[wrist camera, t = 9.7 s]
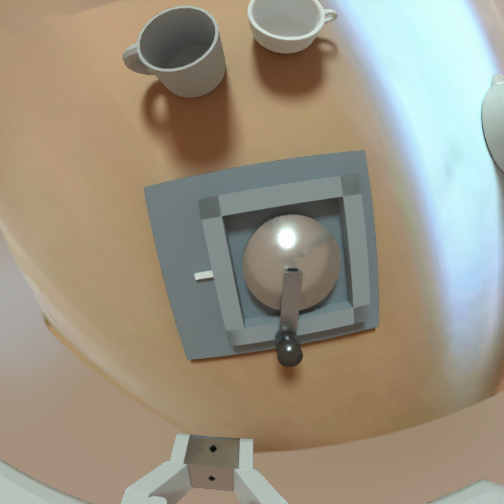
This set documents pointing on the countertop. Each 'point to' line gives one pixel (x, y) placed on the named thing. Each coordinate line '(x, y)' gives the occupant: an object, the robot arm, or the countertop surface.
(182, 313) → the panel
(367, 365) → the countertop surface
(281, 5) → the teacup
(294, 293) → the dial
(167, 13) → the cup
